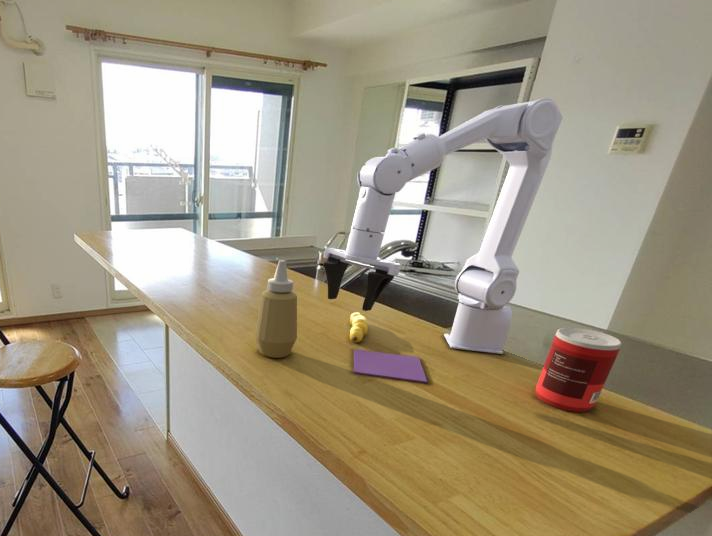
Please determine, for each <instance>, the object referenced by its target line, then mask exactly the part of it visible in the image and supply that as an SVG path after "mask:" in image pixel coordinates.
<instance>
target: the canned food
mask: <svg viewBox="0 0 712 536" xmlns="http://www.w3.org/2000/svg"><path fill="white" fill-rule="evenodd" d="M621 347H622V341H621V340H620V339H618V338H616V337H615V336H612V335H610V334H607V333H604V332H601V331H598V330H594V329H593V330H591V329H586V328H581V327H563V328H562V327H561V328H558V329H557V330H556V333H555V335H554V338H553V340H552V342H551V345H550V348H549V351H548V354H547V357H546V358H545V362H544V364H543V367H542V370H541V373H540V376H539V378H538V381H537V383H536V385H535V396H536V397H537V398H538V400H540V401H541V402H543V403H545V404H547V405H549V406H550V407H553V408H555V409H559V410H563V411H568V412H574V413H584V412H589V411H590V410H592V409H593V407H595V405H596V404H597V402H598V400H599V397H600V395H601V394H602V393H601V392H602V390H603V388H604V386H605V384H606V381H607V379H608V377H609V375H610V373H611V371H612V369H613V366H614V364H615V362H616V360H617V357H618V356H619V352H620V351H621Z"/></svg>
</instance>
